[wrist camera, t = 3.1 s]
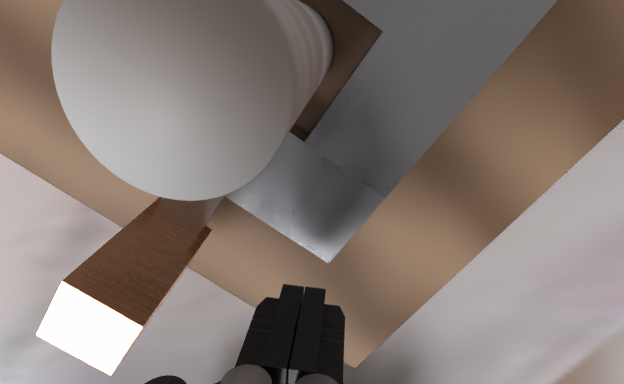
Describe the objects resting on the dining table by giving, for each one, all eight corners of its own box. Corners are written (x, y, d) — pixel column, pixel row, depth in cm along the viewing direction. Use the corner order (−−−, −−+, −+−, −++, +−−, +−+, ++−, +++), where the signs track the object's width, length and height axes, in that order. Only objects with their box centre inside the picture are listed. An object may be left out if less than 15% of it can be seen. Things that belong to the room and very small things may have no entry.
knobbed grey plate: (281, 305, 18) (242, 447, 12) (56, 167, 16) (-122, 249, 10) (542, -1, 12) (729, -30, 6) (231, -266, 11) (57, -668, 4)
